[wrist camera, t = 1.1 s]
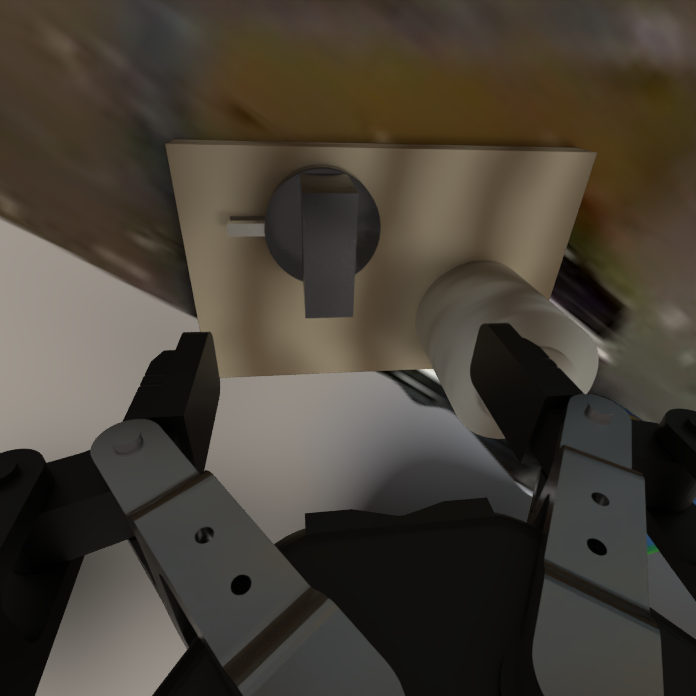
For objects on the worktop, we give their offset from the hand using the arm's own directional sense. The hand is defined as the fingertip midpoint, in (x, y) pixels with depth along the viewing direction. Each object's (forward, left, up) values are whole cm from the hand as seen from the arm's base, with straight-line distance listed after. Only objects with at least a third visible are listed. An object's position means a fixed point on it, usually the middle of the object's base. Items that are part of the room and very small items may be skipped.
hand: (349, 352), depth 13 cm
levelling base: (-4, +4, -16) cm, 17 cm away
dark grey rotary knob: (+1, 0, -14) cm, 14 cm away
